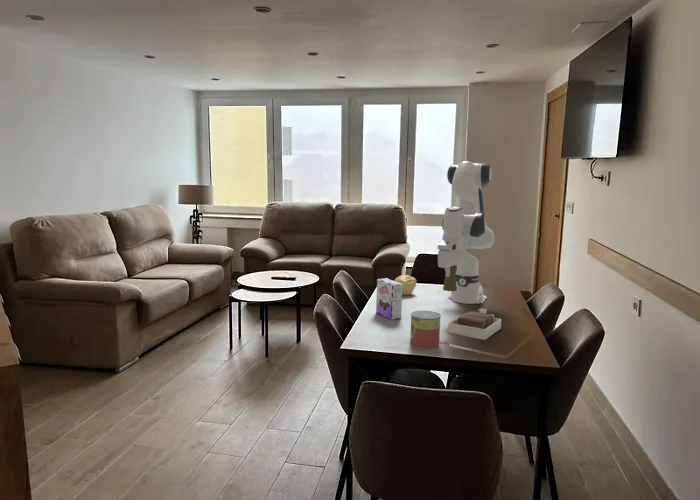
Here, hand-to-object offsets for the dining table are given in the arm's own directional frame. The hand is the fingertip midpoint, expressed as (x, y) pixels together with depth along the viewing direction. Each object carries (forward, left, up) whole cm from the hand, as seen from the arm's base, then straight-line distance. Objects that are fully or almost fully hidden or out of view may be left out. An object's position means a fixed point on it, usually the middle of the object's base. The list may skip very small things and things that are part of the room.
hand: (450, 275), depth 220 cm
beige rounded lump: (-37, -43, -22) cm, 61 cm away
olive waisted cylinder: (0, 0, -7) cm, 7 cm away
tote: (+6, +14, -22) cm, 27 cm away
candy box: (+6, -27, -22) cm, 35 cm away
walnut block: (+6, +14, -21) cm, 26 cm away
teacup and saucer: (-18, +11, -22) cm, 31 cm away
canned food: (+33, +4, -22) cm, 40 cm away
